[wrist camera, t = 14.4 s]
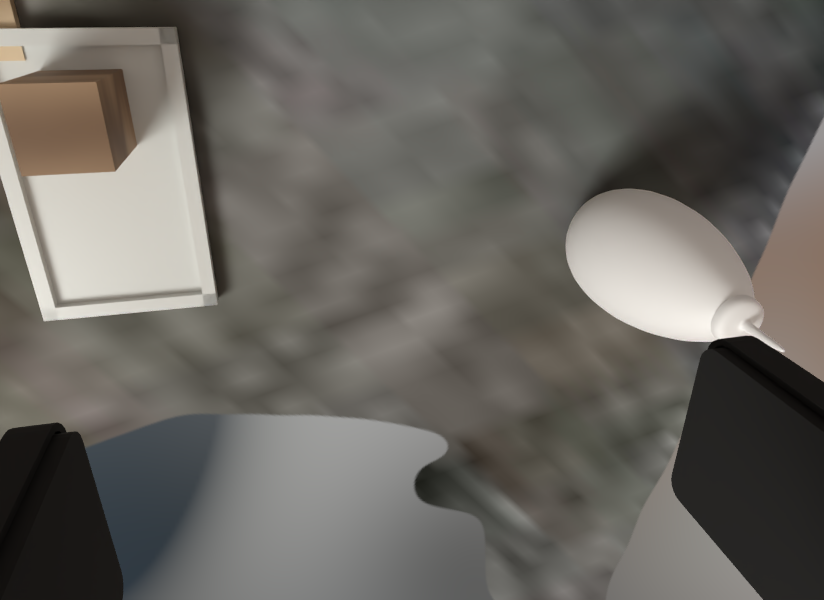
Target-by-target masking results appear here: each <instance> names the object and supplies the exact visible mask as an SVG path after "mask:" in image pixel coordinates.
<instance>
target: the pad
mask: <svg viewBox="0 0 824 600" xmlns="http://www.w3.org/2000/svg"><path fill="white" fill-rule="evenodd" d="M0 28H21V27H20V23H19V19H18V15H17V11H16V7H15V3H14V0H0ZM0 61H26V59H25V56H24V52H23V48H22V46H0Z"/></svg>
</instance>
